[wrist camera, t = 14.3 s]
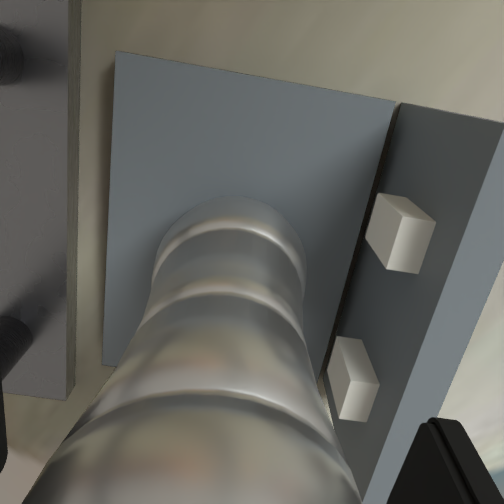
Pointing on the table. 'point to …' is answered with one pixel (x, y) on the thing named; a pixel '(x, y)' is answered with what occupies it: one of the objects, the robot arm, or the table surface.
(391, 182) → the switch board
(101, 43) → the table surface
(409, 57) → the table surface
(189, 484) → the silver bottle
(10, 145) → the cord gate
